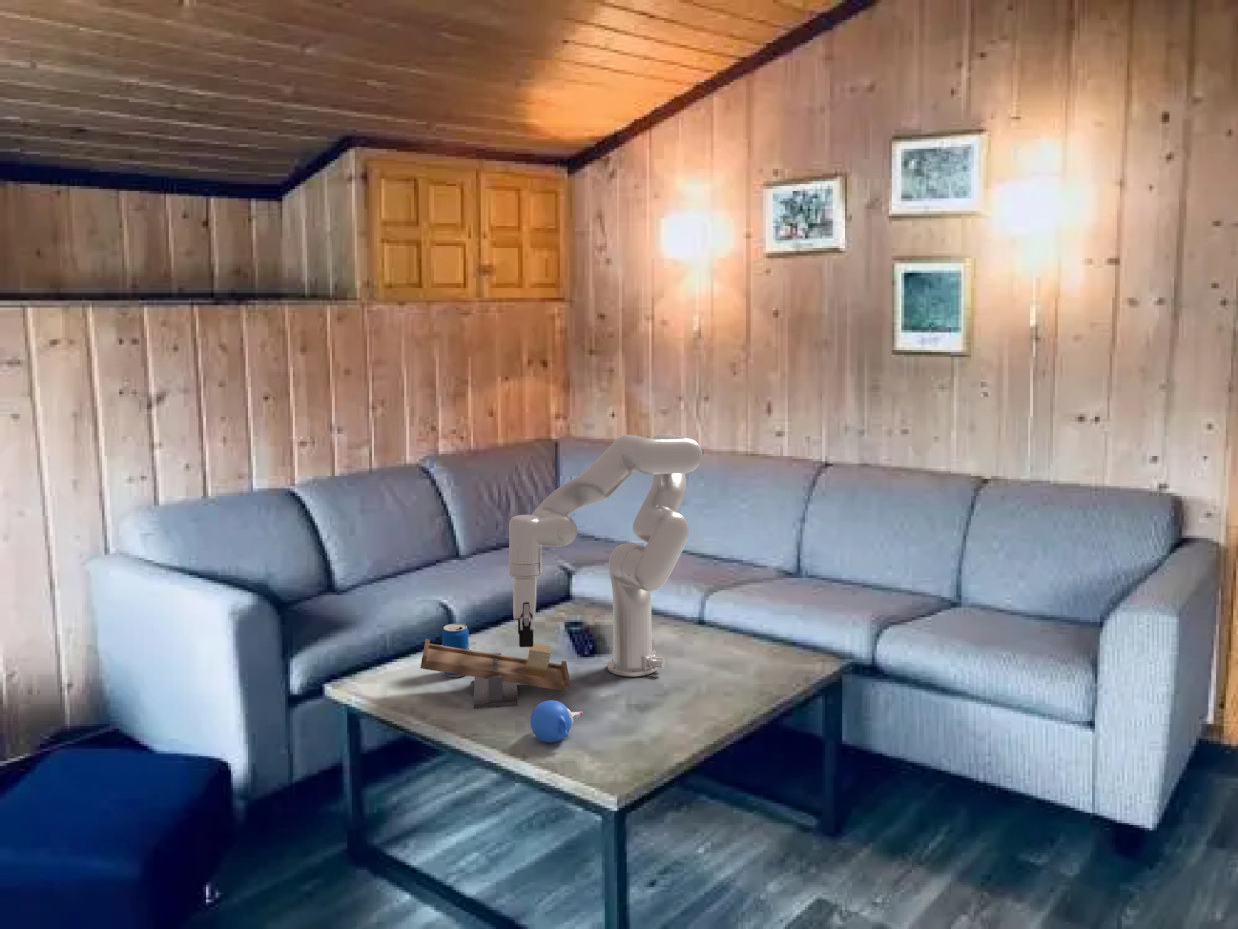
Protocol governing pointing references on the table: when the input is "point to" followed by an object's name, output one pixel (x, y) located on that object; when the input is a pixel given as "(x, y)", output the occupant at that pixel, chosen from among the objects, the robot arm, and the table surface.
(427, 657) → the beam
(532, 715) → the blue mole toy
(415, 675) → the table surface
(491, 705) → the beam stand
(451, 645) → the beverage can
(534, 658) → the rider
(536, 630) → the table surface
